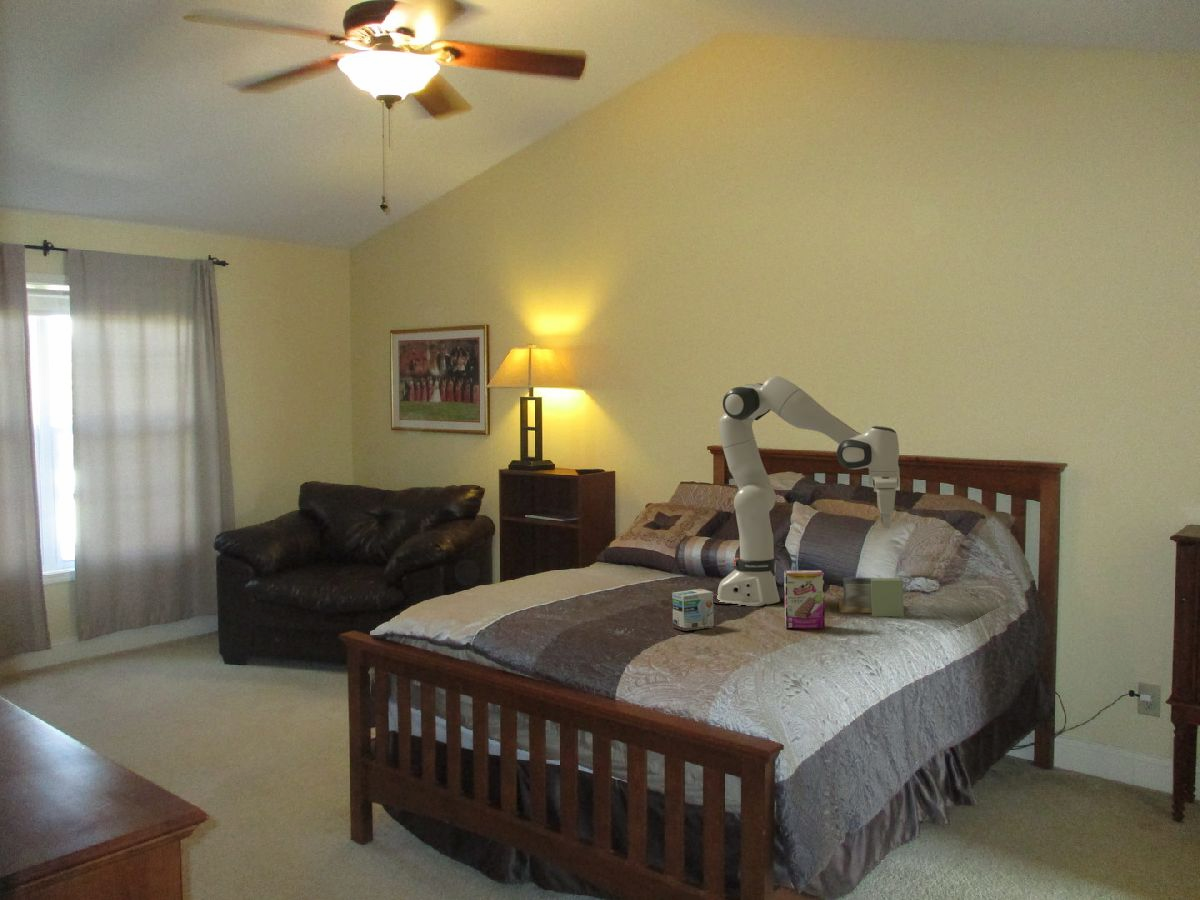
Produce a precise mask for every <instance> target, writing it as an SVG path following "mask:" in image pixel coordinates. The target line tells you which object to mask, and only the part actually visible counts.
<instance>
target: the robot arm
mask: <svg viewBox="0 0 1200 900" xmlns="http://www.w3.org/2000/svg"><path fill="white" fill-rule="evenodd" d="M722 408H723V412H724V414H722V415H721V417H720V418H719V420H718V430H719V436H720V437H719V438H720V442H721V443H720V444H721V445H722V450H723V454H724V457H725V460H726V463H727V467H728V471H729V473H730V474H731V476H732V478H733V480H734V482H735V484H736V486H737V489H738V491H737V492H736V494H735V496H734V499H733V507H734V510H735V517H736V523H737V529H738V535H739V536H738V537H739V538H738V539H739V557H736V558H734V559H733V569H734V570H733V571H731V572H730V573H728V575H726V576H725V577H724V578H723V579H722V580H721V581H720V582H719V583H718V584H719V585H718V588H717V594H718V595H717V594H716V595H717V599H718V600H720V601H719V602H725V603H732V604H738V605H737V606H741V605H746V606H745V607H762V606H764V605H765V604H766V605H772V604H776V603H779V602H780V601H781V598H780V596H779V592H778V591H779V590H778V588H777V583H776V573H777V565H776V564H777V563H776V558H775V556H774V554H775V553H774V552H775V551H774V549H775V547H774V533H773V530H772V524H771V518H770V511H772V509H774V506H775V504H776V499H777V496H776V492H775V490H774V487H773V485H772V483H771V480H770V478H769V475H768V473H767V471H766V468H765V467H764V464H763V461H762V458H761V455H760V451H759V446H758V445H757V441H756V437H755V434H754V431H753V423H754V421H758V420H760V419H762V418H763V417H764V416H766V415H767V414H768V413H770V412H773V413H774V414H776V415H777V416H778V417H779V418H781V419H782V420H783V421H784V422H786V423H787V424H790V426H793V427H795V428H798V429H801V430H808V431H813V432H818V433H821V434H823V435H825V436H827V437H829V438H830V439H831V440H833V441H834V442H836V443H837V444H838V447H837V450H836V458H837V461H838V462H839V464H840V465H841V466H842V467H844V469H845V468H846V469H849V470H862V469H868V481H869V482H868V483H869V487H873V492H875V493H876V505H877V508H878V510H879V512H880V518H881V519H880V520H881V524H882V527H883V529H889V528H890V527H891V526H890V524H891V522H890V521H891V515H893V514H894V512H895V510H894V509H895V501H896V500H895V499H896V490H897V489H898V487H900V485H901V482H900V481H901V480H900V479H901V478H900V477H901V476H900V471H901V469H900V465H899V457H900V445H899V438H898V434H897V431H896V430H895V429H893V428H891V427H886V426H878V425H877V426H876V425H874V426H871V427H869V428H868V429H867V430H866V431H864V432H862V433H860V432H858V431H856V430H855V429H854V428H852V427H850V426H849V425H848V424H846V423H845V422H844V421H842V420H840V419H839V418H838V417H836V416H835V415H833V414H832V413H831V412H829V411H828V410H827V409H826V408H824V406H822V405H821V404H820V403H819V402H818V401H816V400H815V399H814V398H813V397H812V396H811V395H809V394H808V393H807V392H806V391H804V390H803V389H802V388H800V387H799V386H798V385H796V384H795V383H793V382H792V381H789V380H788V379H786V378H783V377H781V376H779V375H773V376H771V377H768V378H767V379H766V380H765V381H764V382H763V383H759V382H758V383H749V384H744V385H741V386H736V387H733V388H730V390H728V391H727V392H726V394H725V395H724V396H723V399H722Z"/></svg>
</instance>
